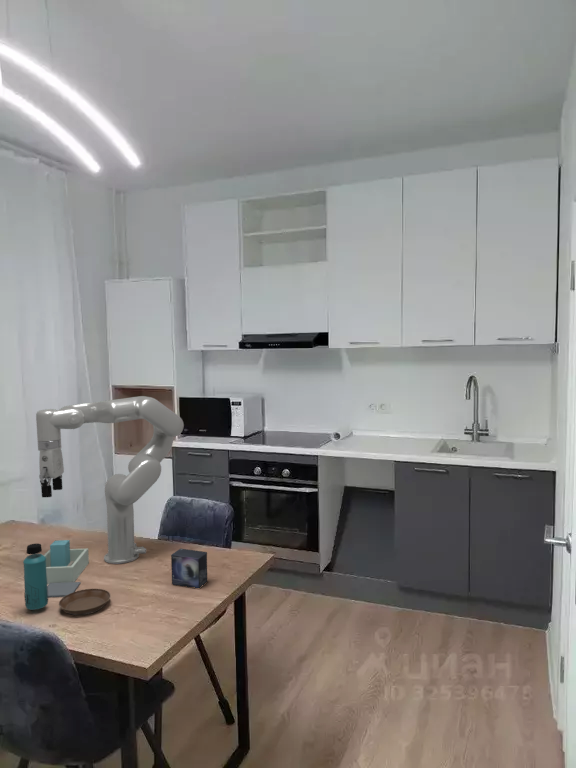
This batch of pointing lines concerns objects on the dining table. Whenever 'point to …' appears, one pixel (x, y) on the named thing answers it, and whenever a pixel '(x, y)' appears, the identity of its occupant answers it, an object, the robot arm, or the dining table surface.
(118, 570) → the dining table surface
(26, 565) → the beverage bottle
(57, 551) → the block
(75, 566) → the frame
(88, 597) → the saucer
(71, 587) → the mat
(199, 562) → the small box
